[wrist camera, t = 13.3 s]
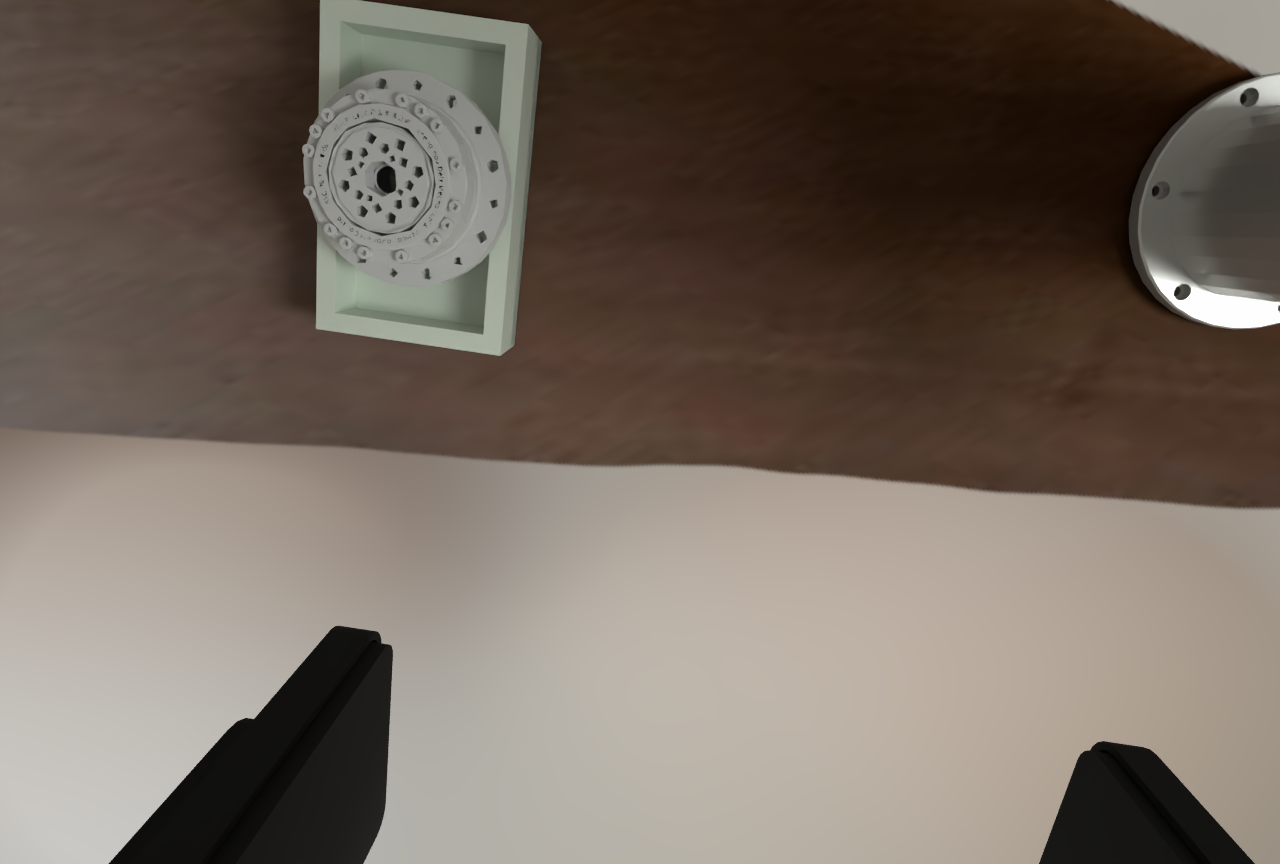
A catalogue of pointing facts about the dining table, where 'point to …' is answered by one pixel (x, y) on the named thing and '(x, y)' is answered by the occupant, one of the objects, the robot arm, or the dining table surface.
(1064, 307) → the dining table surface
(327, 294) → the tray
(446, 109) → the mechanical component
